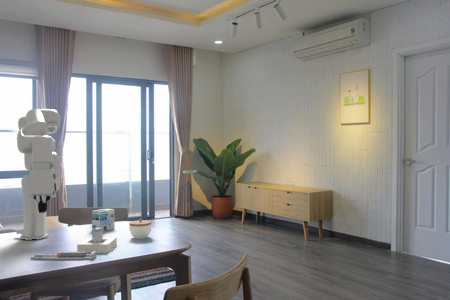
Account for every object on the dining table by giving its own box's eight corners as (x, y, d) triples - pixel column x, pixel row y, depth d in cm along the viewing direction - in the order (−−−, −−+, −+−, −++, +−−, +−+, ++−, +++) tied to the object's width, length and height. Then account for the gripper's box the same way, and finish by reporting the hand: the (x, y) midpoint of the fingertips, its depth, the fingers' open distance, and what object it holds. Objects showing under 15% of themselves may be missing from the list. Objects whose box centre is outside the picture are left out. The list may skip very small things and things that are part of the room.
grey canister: (90, 250, 174) (90, 229, 174) (94, 247, 178) (94, 227, 178) (100, 250, 174) (100, 229, 174) (104, 247, 178) (104, 227, 178)
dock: (77, 252, 170) (77, 244, 170) (88, 245, 183) (88, 237, 183) (107, 252, 170) (107, 244, 170) (116, 245, 182) (116, 237, 182)
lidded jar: (124, 239, 195) (124, 219, 195) (137, 234, 205) (137, 216, 205) (143, 241, 191) (143, 221, 191) (155, 236, 201) (155, 217, 201)
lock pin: (56, 258, 160) (56, 252, 160) (59, 257, 162) (59, 251, 162) (84, 258, 160) (84, 252, 160) (86, 257, 162) (86, 251, 162)
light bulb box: (99, 231, 213) (99, 211, 213) (91, 230, 216) (91, 210, 216) (115, 228, 222) (115, 208, 222) (106, 227, 226) (106, 208, 226)
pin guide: (30, 259, 159) (30, 253, 159) (35, 257, 163) (35, 251, 163) (93, 259, 159) (92, 253, 159) (96, 256, 163) (96, 250, 163)
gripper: (64, 166, 165) (65, 210, 165) (28, 166, 165) (28, 210, 165) (56, 167, 157) (57, 213, 158) (19, 167, 158) (19, 213, 158)
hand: (42, 212), depth 161 cm, fingers closed
